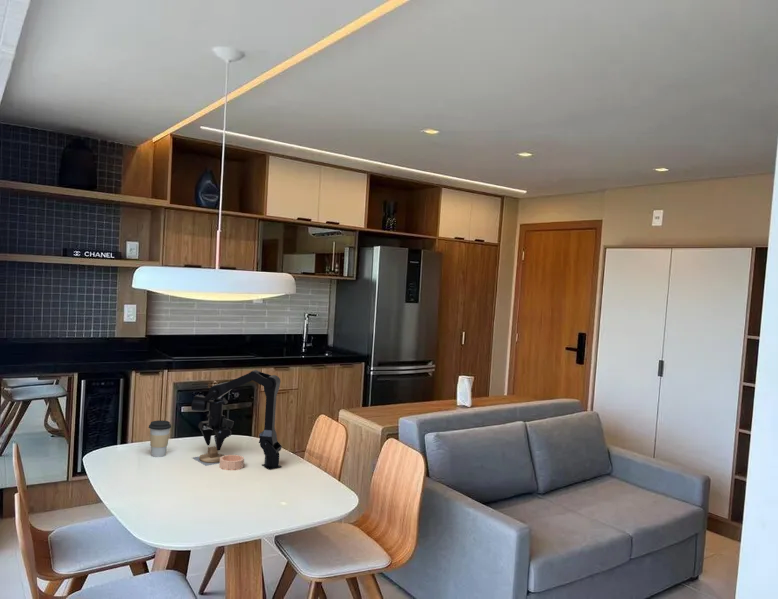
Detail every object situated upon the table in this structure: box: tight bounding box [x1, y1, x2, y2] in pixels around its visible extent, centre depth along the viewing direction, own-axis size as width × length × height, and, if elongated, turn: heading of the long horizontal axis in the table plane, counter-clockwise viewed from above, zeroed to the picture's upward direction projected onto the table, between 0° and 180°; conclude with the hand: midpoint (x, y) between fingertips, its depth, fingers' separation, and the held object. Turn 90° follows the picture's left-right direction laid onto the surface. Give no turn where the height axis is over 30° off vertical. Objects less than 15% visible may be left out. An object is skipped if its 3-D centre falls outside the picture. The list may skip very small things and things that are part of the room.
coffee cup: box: [148, 419, 172, 458], centre depth 260 cm, size 9×9×15 cm
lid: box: [198, 445, 225, 464], centre depth 260 cm, size 11×11×5 cm
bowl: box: [219, 454, 245, 471], centre depth 252 cm, size 10×10×4 cm
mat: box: [192, 455, 220, 467], centre depth 260 cm, size 13×13×1 cm
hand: (213, 447), depth 260 cm, fingers open, 9 cm apart
